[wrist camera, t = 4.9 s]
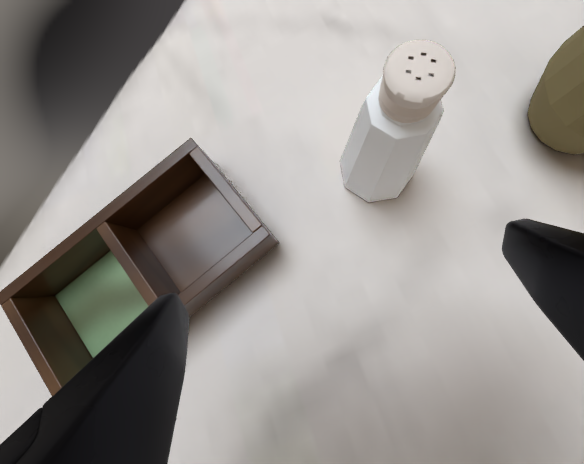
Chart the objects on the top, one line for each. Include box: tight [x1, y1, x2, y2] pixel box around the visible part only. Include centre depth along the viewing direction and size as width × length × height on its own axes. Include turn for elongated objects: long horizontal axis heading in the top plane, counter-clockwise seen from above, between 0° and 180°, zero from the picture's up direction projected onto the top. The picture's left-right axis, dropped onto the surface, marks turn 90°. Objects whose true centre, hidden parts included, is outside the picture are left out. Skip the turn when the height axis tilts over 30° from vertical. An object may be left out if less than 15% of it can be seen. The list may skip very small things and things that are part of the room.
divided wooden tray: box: [0, 138, 279, 396], centre depth 21 cm, size 9×16×4 cm, turn 129°
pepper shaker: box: [340, 40, 456, 202], centre depth 18 cm, size 5×5×11 cm
